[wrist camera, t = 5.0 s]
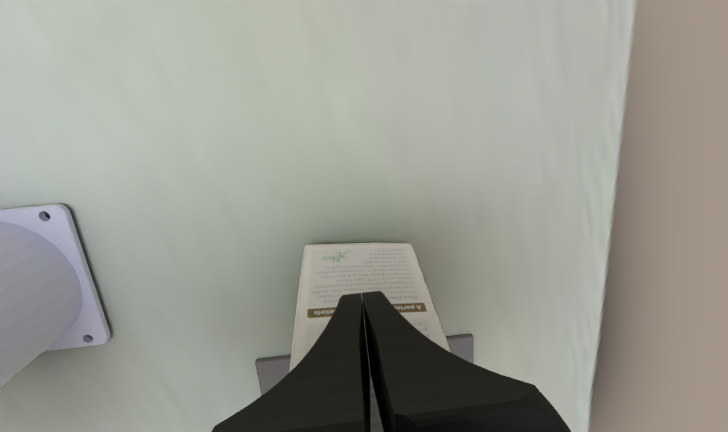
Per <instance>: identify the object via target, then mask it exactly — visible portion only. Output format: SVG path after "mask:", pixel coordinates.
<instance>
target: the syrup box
mask: <svg viewBox="0 0 728 432" xmlns="http://www.w3.org/2000/svg"><path fill="white" fill-rule="evenodd" d="M373 291H381V292H382V293H384V295H385V296H386V298H387V299H388V300H389V301H390V303H391V304H392V305H393V306H394V307H395V308H396V309H397V310H398V312H399V313H400V314H401V315H402V316H403V317H404V318H405V319H406V320H407V321H408V322H410V323H411V324H412V325H413V326H414V327H415V328H416V329H417V330H419V331H420V332H421V333H422V334H423V335H425V336H426V337H427V338H429V339H430V340H432V341H433V342H435V343H436V344H438V345H439V346H441V347H442V348H444V349H446V350H447V351H449V352H451V350H450V347H449V344H448V342H447V339H446V336H445V334H444V331H443V328H442V326H441V323H440V320H439V317H438V314H437V312H436V309H435V306H434V303H433V301H432V299H431V296H430V293H429V290H428V287H427V284H426V281H425V278H424V276H423V273H422V270H421V267H420V265H419V262H418V259H417V256H416V254H415V251H414V248H413V246H412V245H411V244H409V243H353V244H316V245H306V246H305V248H304V252H303V259H302V268H301V275H300V282H299V290H298V298H297V306H296V316H295V323H294V332H293V341H292V351H291V361H290V370H289V372H290V371H291V370H292V369H294V368H295V367H296V366H297V364H298V363H299V362H300V361H301V360H302V359H303V358H304V357H305V355H306V354H307V353H308V352H309V350H310V349H311V348H312V346H313V345H314V344H315V342H316V341H317V339H318V338H319V336H320V335H321V333H322V332H323V330H324V329H325V327H326V325H327V324H328V322H329V320H330V318H331V317H332V315H333V313H334V311H335V309H336V307H337V304H338V302H339V299H340V298H341V296H342V295H347V294H356V293H361V295H362V293H364V292H373ZM362 303H363V301H362ZM363 313H364V311H363ZM364 322H365V321H364ZM365 332H366V330H365ZM366 341H367V340H366ZM367 351H368V349H367ZM451 353H452V352H451ZM368 360H369V357H368ZM369 370H370V366H369ZM370 432H384V431H383V427H382V422H381V418H380V414H379V409H378V405H377V401H376V396H375V392H374V387H373V383H372V379H371V374H370Z"/></svg>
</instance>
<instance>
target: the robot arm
mask: <svg viewBox="0 0 728 432" xmlns="http://www.w3.org/2000/svg"><path fill="white" fill-rule="evenodd" d="M45 212H47V213H48V214H49V215H50V219H49V218H47V217H46V216H45ZM362 301H363V303H362ZM363 311H364V313H363ZM364 321H365V322H364ZM365 330H366V332H365ZM88 335H90V336H92V338H90V337H88ZM109 338H110V331H109V328H108V325H107V322H106V319H105V316H104V313H103V310H102V307H101V304H100V301H99V298H98V295H97V291H96V288H95V285H94V282H93V279H92V276H91V273H90V270H89V267H88V264H87V261H86V258H85V255H84V252H83V249H82V246H81V243H80V240H79V237H78V234H77V231H76V228H75V225H74V222H73V219H72V216H71V213H70V211H69V209H68V208H67V207H66V206H64V205H62V204H49V205H39V206H29V207H19V208H9V209H0V387H1V386H3V385H4V384H5V383H6V382H7V381H9V380H10V379H11V378H12V377H13V376H15V375H16V374H17V373H18V372H19V371H21V370H22V369H23V368H24V367H25V366H27V365H28V364H29V363H30V362H31V361H33V360H34V359H35V358H36V357H37V356H39V355H40V354H41V353H42V352H43V351H52V350H60V349H69V348H78V347H87V346H95V345H102V344H104V343H105V342H107V341H108V340H109ZM366 340H367V341H366ZM367 349H368V351H367ZM368 357H369V360H368ZM369 366H370V370H369ZM370 374H371V379H372V383H373V387H374V392H375V396H376V401H377V405H378V409H379V414H380V418H381V422H382V427H383V431H384V432H571V431H570V429H569V428H568V426H567V425H566V423H565V422H564V421H563V419H562V418H561V416H560V415H559V414H558V412H557V411H556V410H555V409H554V407H553V406H552V405H551V404H550V402H549V401H548V400H547V399H546V398H545V397H544V396H543V395H542V393H541V392H540V391H539V390H538V389H537V388H536V386H535V385H532V384H529V383H526V382H523V381H519V380H516V379H513V378H509V377H506V376H503V375H500V374H497V373H494V372H492V371H489V370H487V369H484V368H482V367H479V366H477V365H475V364H473V363H470V362H468V361H466V360H464V359H462V358H460V357H458V356H457V355H455V354H453V353H451V352H449V351H447V350H446V349H444V348H442V347H441V346H439V345H438V344H436V343H435V342H433V341H432V340H430V339H429V338H427V337H426V336H425V335H423V334H422V333H421V332H420V331H419V330H417V329H416V328H415V327H414V326H413V325H412V324H411V323H410V322H408V321H407V320H406V319H405V318H404V317H403V316H402V315H401V314H400V313H399V312H398V310H397V309H396V308H395V307H394V306H393V305H392V304H391V303H390V301H389V300H388V299H387V298H386V296H385V295H384V293H382V292H381V291H373V292H364V293H362V295H361V293H356V294H347V295H342V296H341V298H340V299H339V302H338V304H337V307H336V309H335V311H334V313H333V315H332V317H331V318H330V320H329V322H328V324H327V325H326V327H325V329H324V330H323V332H322V333H321V335H320V336H319V338H318V339H317V341H316V342H315V344H314V345H313V346H312V348H311V349H310V350H309V352H308V353H307V354H306V355H305V357H304V358H303V359H302V360H301V361H300V362H299V363H298V364H297V366H296V367H295V368H294V369H292V370H291V371H290V372H289V373H288V374H287V375H286V376H285V377H284V378H283V379H282V380H281V381H280V382H279V383H277V384H276V385H275V386H274V387H272V388H271V389H270V390H269V391H268V392H266V393H265V394H264V395H262V396H261V397H260V398H258V399H257V400H255V401H254V402H253V403H251V404H250V405H248V406H247V407H245V408H244V409H242V410H240V411H239V412H237V413H236V414H234V415H232V416H231V417H229V418H228V419H226V420H224V421H223V422H221V423H219V424H218V425H216V426H215V427H214V428H213V430H212V432H370Z"/></svg>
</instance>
